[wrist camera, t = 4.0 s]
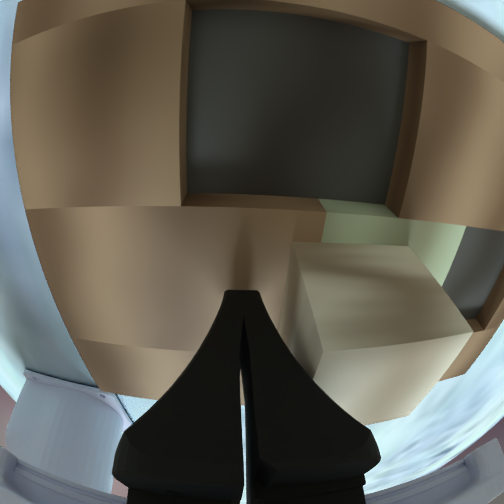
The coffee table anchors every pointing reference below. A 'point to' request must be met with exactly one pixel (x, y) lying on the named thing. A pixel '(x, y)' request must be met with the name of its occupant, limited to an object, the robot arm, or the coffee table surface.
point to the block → (369, 326)
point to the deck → (249, 160)
